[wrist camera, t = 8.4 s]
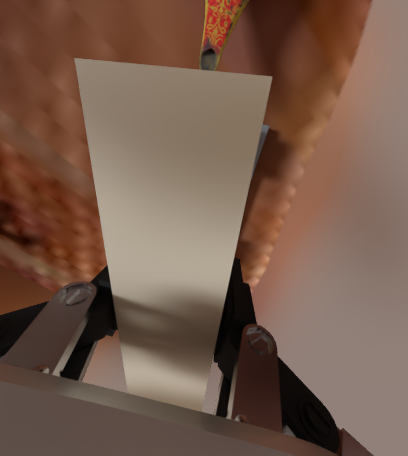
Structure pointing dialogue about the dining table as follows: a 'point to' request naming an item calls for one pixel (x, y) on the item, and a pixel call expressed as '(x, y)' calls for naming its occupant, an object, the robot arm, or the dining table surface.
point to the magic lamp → (218, 29)
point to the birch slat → (170, 209)
